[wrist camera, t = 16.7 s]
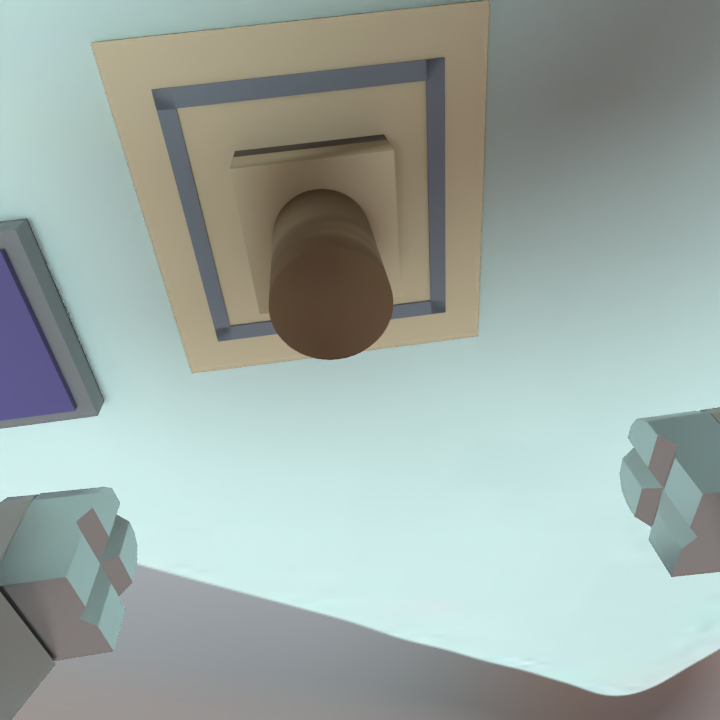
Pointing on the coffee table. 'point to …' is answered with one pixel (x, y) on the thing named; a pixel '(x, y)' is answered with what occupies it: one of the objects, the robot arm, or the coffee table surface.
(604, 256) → the coffee table surface
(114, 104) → the card sheet
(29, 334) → the ink pad
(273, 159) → the stamp
